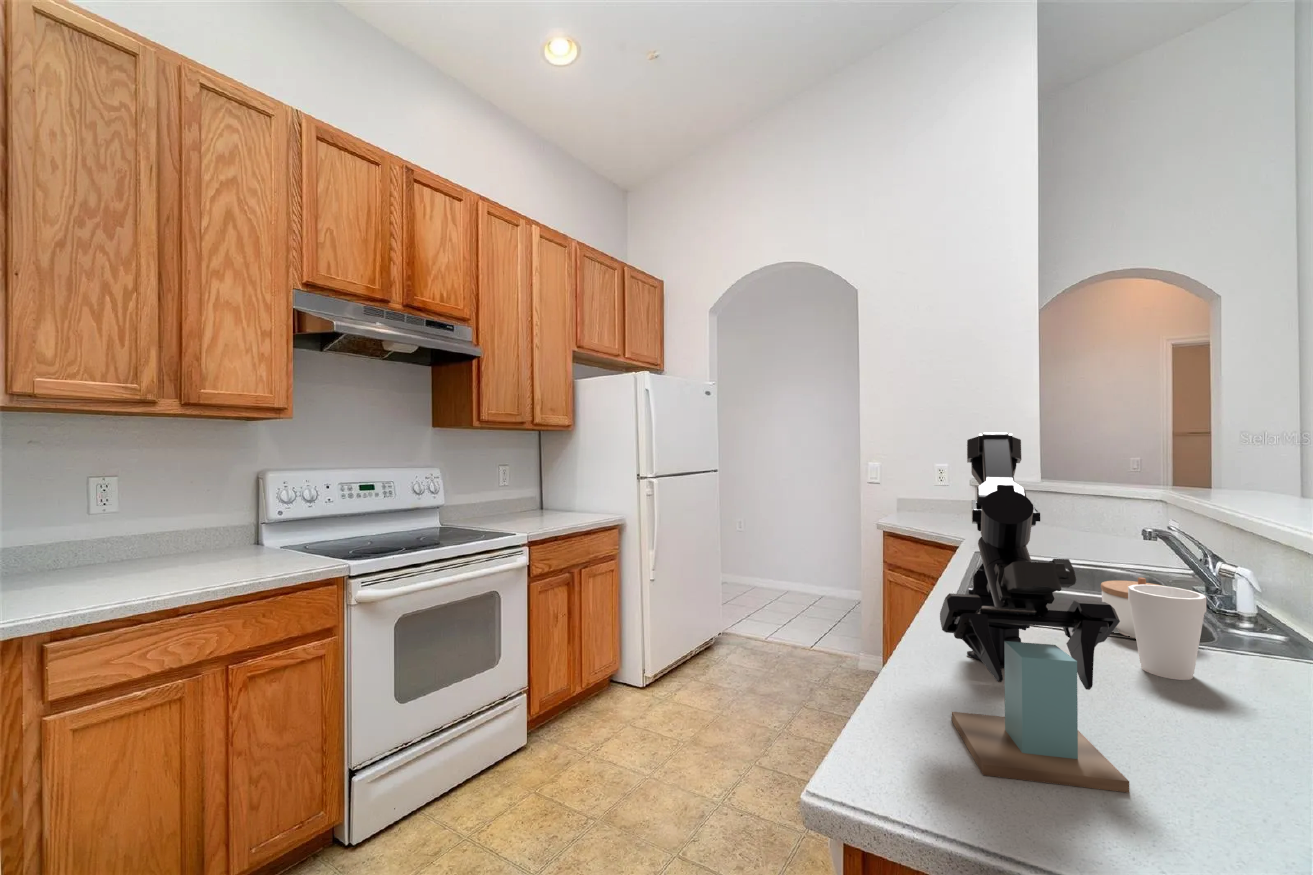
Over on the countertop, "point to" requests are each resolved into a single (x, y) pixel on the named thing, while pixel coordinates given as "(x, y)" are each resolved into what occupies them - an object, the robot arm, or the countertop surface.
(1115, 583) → the lidded bowl
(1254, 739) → the countertop surface
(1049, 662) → the teal rectangular prism
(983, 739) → the post board
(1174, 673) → the foam cup
